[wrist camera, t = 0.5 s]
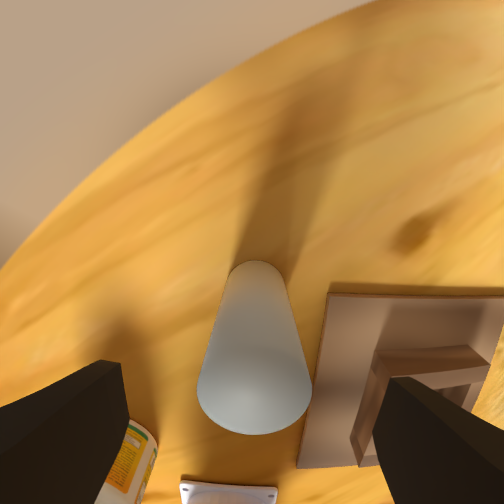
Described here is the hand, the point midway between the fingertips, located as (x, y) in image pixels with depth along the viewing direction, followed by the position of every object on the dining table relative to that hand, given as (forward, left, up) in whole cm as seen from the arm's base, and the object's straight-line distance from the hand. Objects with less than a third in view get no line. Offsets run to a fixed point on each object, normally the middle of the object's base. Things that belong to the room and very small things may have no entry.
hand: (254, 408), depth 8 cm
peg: (0, 0, -10) cm, 10 cm away
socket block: (-7, -11, -10) cm, 16 cm away
